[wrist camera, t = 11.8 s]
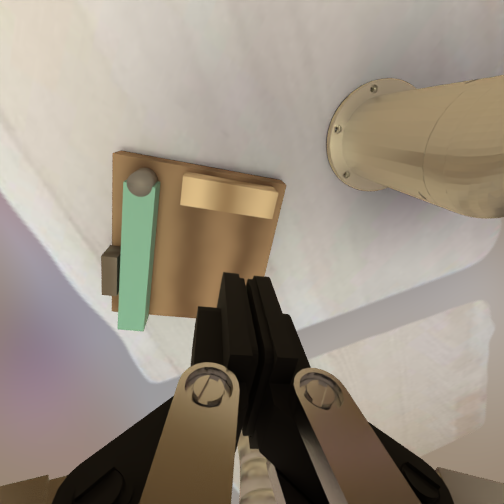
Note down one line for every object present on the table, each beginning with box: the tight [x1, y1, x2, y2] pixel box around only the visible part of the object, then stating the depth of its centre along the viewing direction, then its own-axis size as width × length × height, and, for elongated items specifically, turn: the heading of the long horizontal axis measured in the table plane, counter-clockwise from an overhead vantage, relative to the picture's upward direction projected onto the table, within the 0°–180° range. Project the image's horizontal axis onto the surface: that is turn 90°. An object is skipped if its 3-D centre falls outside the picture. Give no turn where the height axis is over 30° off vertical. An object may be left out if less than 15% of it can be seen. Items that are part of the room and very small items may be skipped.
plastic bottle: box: [237, 430, 277, 504], centre depth 44 cm, size 6×7×20 cm
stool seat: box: [101, 151, 286, 318], centre depth 35 cm, size 19×20×6 cm
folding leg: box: [118, 168, 160, 331], centre depth 33 cm, size 19×3×3 cm, turn 168°
